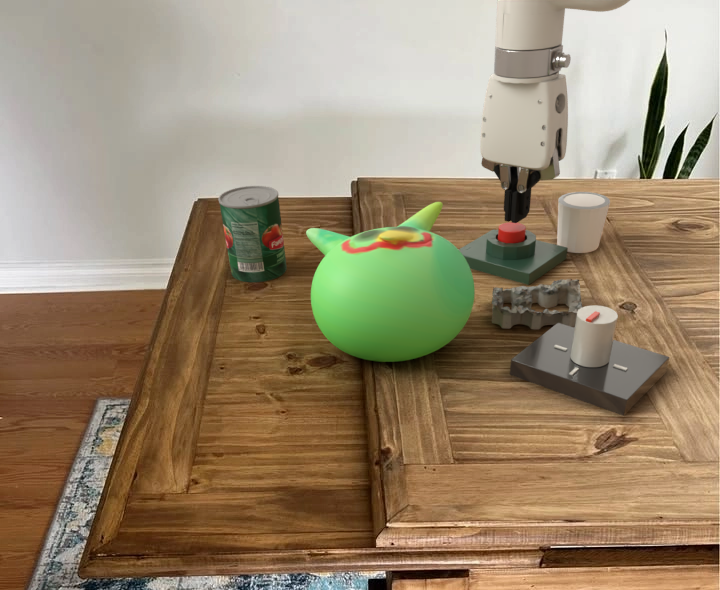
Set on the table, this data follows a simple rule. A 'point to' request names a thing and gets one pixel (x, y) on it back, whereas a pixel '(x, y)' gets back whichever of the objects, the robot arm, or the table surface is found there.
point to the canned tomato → (253, 233)
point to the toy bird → (391, 289)
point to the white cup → (581, 220)
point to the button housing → (513, 257)
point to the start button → (511, 232)
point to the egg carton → (544, 297)
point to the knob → (593, 336)
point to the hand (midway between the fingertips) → (515, 218)
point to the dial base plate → (590, 371)
